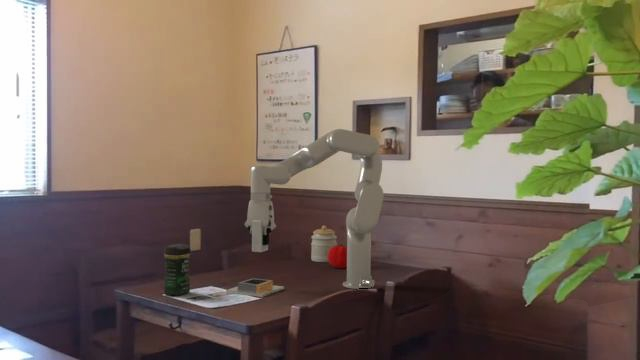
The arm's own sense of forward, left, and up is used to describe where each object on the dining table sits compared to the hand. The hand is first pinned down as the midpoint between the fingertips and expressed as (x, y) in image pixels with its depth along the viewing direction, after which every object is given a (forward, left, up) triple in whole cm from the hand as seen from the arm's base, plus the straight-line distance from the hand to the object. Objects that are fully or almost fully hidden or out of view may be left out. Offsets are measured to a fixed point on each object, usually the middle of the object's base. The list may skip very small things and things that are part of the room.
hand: (259, 243), depth 237 cm
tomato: (+22, -55, -18) cm, 62 cm away
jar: (+43, -60, -18) cm, 76 cm away
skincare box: (0, 0, -3) cm, 3 cm away
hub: (-2, +3, -18) cm, 18 cm away
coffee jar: (+9, +30, -18) cm, 36 cm away
